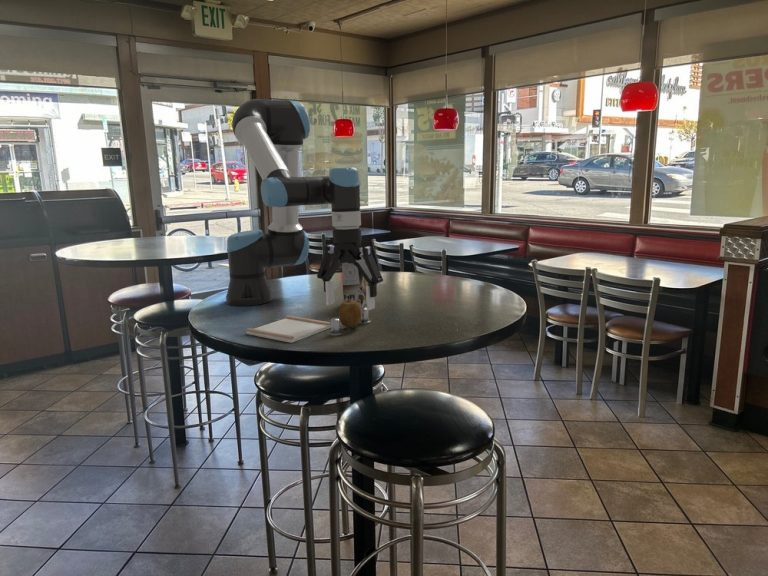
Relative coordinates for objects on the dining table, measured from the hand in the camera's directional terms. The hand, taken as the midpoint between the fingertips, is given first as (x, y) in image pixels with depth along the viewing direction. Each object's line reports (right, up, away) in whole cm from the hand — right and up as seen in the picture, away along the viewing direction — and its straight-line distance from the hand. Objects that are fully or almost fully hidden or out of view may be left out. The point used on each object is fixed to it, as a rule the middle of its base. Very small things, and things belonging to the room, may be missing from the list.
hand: (350, 306), depth 149 cm
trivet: (-16, -6, 0) cm, 18 cm away
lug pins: (0, -6, +2) cm, 6 cm away
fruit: (0, -6, +2) cm, 6 cm away
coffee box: (0, 0, +28) cm, 28 cm away
